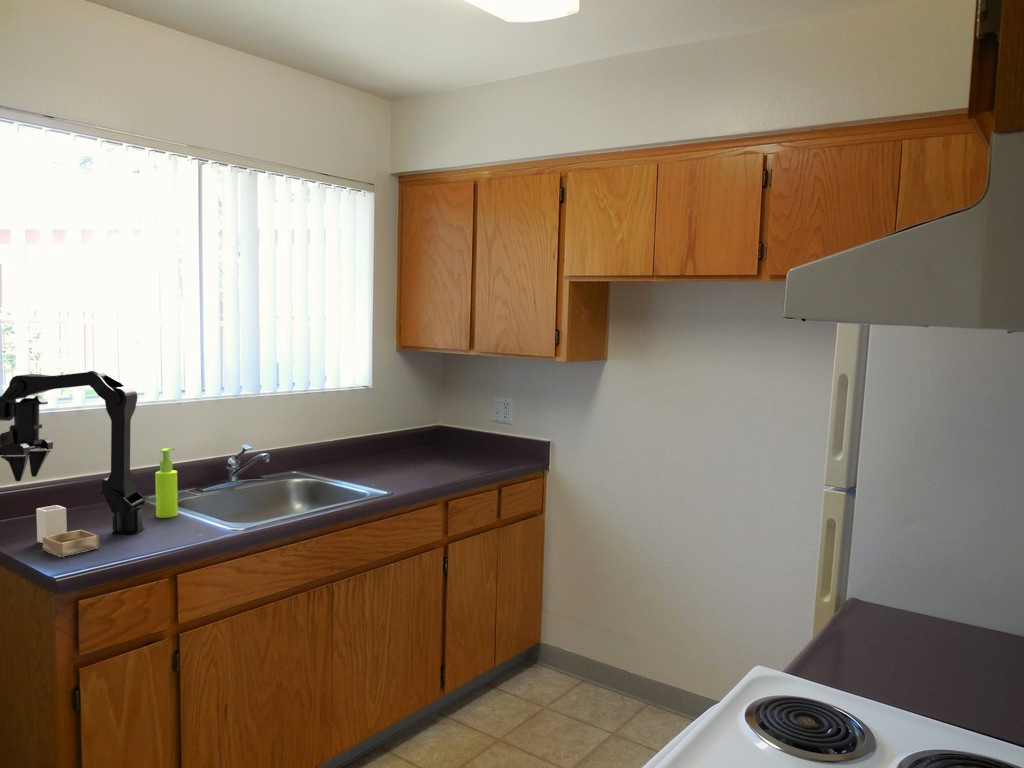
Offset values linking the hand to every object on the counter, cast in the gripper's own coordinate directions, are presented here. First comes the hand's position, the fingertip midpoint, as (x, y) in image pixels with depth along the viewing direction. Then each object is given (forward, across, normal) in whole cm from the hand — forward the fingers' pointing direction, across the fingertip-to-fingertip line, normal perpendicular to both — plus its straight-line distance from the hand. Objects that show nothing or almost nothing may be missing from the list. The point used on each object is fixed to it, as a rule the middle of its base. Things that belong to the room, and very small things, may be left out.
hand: (26, 478), depth 204 cm
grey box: (+15, +10, +10) cm, 21 cm away
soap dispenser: (+14, -17, +32) cm, 38 cm away
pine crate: (+16, +17, +18) cm, 29 cm away
